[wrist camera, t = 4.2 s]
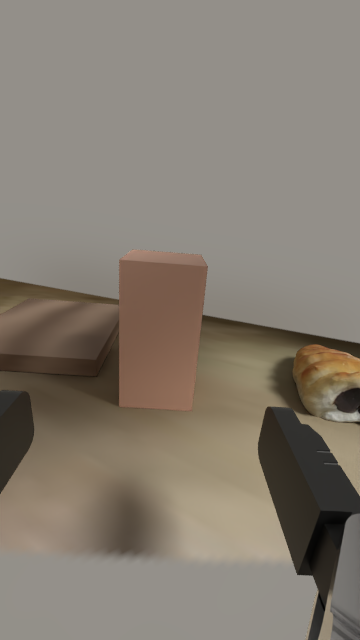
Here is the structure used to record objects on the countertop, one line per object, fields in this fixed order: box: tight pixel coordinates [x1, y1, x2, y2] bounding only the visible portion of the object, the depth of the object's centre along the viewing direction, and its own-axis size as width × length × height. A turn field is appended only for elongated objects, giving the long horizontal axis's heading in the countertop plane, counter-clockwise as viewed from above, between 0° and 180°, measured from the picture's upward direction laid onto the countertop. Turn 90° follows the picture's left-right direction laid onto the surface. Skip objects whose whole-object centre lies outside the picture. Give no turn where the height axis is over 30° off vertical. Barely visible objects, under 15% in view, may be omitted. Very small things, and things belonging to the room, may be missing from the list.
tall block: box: [119, 250, 208, 411], centre depth 20 cm, size 5×5×10 cm
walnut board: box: [0, 299, 119, 376], centre depth 29 cm, size 12×14×2 cm
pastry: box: [292, 344, 360, 422], centre depth 23 cm, size 9×7×4 cm
